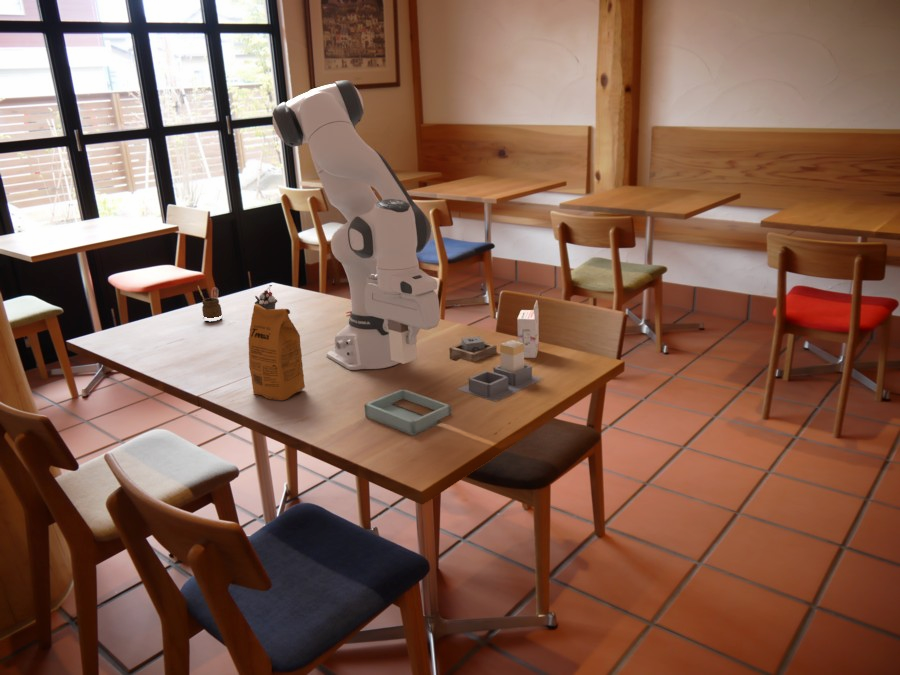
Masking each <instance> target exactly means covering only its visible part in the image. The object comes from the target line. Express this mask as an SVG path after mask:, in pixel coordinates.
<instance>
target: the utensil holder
mask: <svg viewBox="0 0 900 675" xmlns="http://www.w3.org/2000/svg"><path fill="white" fill-rule="evenodd" d="M197 290H198V292H199V293H200V296H201V297H202V299H203V300H202V302H201V303H202V308H201V309H202V310H201V311H202V317H203V316H204V317H207V318H214V317H219V316H221V315H222V316H223V313H222V312H223V311H222V307H221V304H220V301H219V297H215V296H219V293H216V294H214V295H213V290H217V292H219V289H218V288H217V287H212V289H211V291H210V292H211V295H210V296H211V297H209V298H205V297H204V295H203V292H202V290H201V288H200V285H197ZM213 296H214V297H213ZM204 317H203V318H204Z"/></svg>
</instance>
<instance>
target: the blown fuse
mask: <svg viewBox="0 0 900 675" xmlns="http://www.w3.org/2000/svg"><path fill="white" fill-rule="evenodd" d="M388 329H389V339H390V352H391V360H393V361H396V362H399V363H398V364H407V363H410V362H413V361H415V360H417V359H418V352H417V349H418V348H417V343H416V344H414V345H410V344H407V343H406V336H409V333H410V330H408V325H405V324H402V323H399V322H395V321H391V320H388Z"/></svg>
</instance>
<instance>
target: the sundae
mask: <svg viewBox="0 0 900 675" xmlns="http://www.w3.org/2000/svg"><path fill="white" fill-rule="evenodd" d="M272 286H273V285H271V284H269V287H268V288H267V289H265V290H264V291H263V292H261V294H260V295H259V297H258V296H257V295H255V296H254V297H255V299H256V301H255V302H254V305H255V304H258V305H260V306H261V307H263V308H265V309H267V310H269V309H276V303H278V299H277V298H276V297H275V296H274V295H273V292H272V291H271V287H272Z"/></svg>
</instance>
